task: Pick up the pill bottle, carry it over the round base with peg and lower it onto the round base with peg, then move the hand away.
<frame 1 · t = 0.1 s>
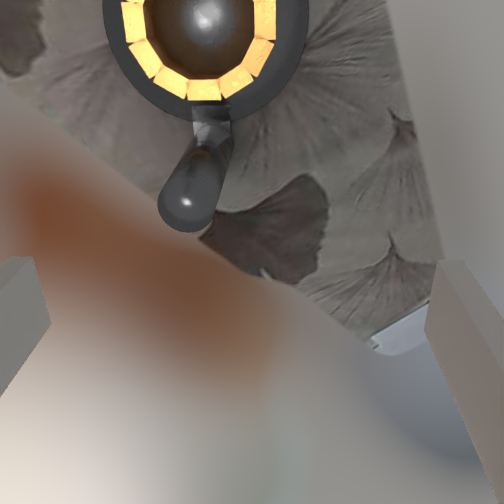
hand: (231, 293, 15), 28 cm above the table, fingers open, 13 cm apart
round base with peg: (206, 19, 37), on the table
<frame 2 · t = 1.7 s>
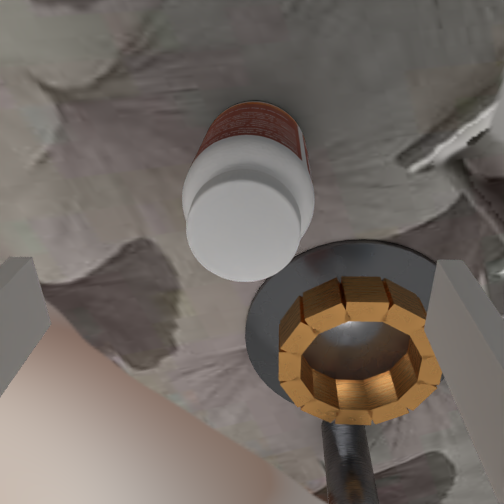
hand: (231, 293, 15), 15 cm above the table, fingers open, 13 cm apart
pill bottle: (255, 150, 28), on the table
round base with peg: (352, 334, 35), on the table
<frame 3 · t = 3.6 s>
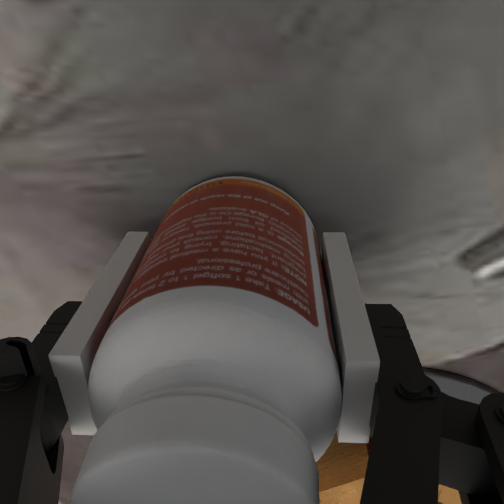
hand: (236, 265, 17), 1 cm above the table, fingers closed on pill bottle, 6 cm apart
pill bottle: (239, 244, 18), on the table, touching gripper
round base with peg: (380, 480, 25), on the table
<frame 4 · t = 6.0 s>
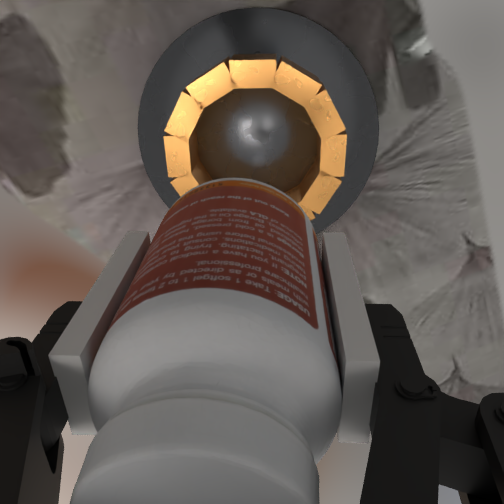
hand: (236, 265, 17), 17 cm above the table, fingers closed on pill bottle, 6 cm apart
pill bottle: (239, 245, 18), point 15 cm above the table, touching gripper
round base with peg: (257, 140, 32), on the table
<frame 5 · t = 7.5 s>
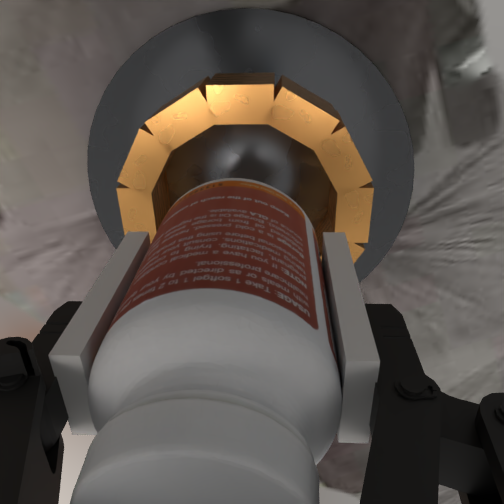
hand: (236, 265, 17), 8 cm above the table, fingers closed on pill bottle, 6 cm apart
pill bottle: (239, 245, 18), point 6 cm above the table, touching gripper
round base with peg: (248, 186, 24), on the table
when the fingers open (5 cm above the table, at t = 8.4 s): pill bottle drops 3 cm, resting on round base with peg.
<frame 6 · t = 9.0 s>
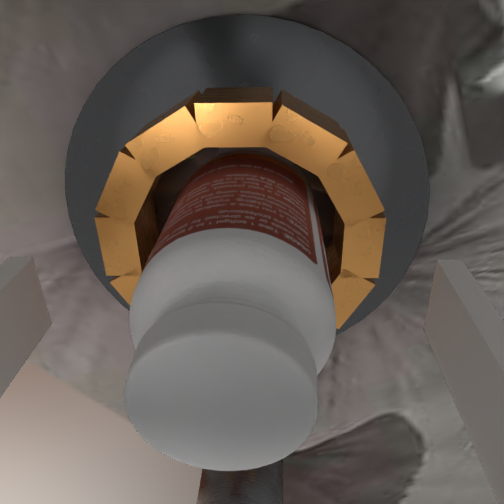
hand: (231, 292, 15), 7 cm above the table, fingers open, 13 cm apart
pill bottle: (248, 213, 21), resting on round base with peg
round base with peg: (245, 210, 21), on the table
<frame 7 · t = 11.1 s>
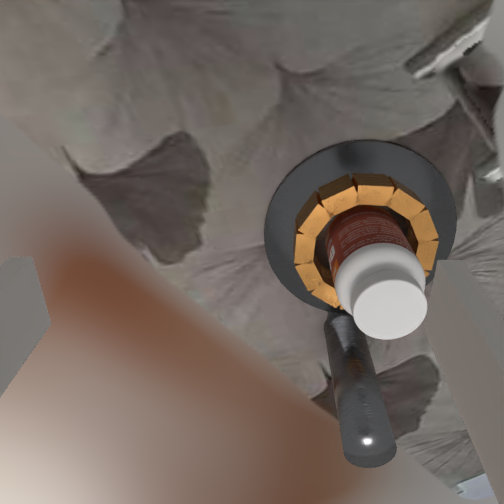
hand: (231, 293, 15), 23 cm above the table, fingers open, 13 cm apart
pill bottle: (360, 234, 39), resting on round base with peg
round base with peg: (357, 233, 40), on the table
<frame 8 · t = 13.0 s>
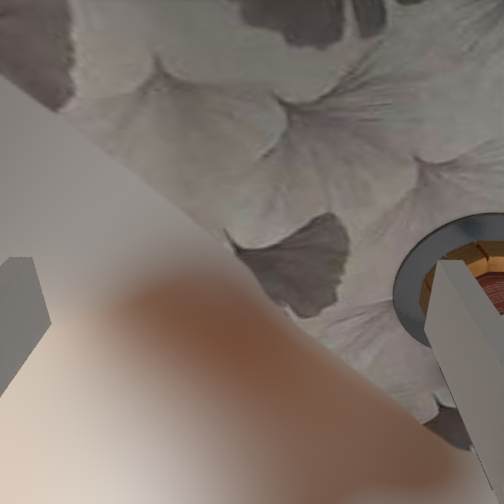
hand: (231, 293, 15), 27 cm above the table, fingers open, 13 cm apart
pill bottle: (479, 289, 45), resting on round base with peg
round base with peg: (476, 287, 46), on the table
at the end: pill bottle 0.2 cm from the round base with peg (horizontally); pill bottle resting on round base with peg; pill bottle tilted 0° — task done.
